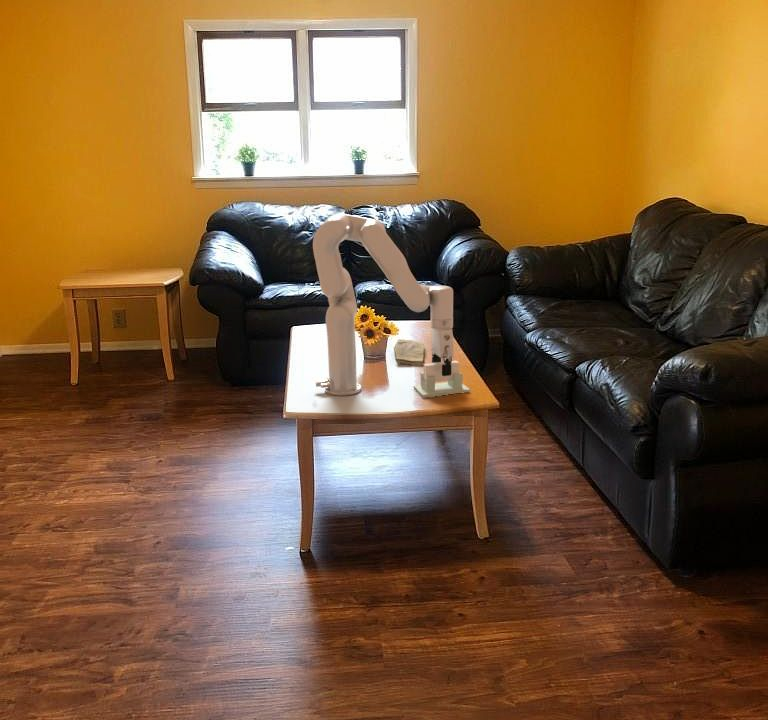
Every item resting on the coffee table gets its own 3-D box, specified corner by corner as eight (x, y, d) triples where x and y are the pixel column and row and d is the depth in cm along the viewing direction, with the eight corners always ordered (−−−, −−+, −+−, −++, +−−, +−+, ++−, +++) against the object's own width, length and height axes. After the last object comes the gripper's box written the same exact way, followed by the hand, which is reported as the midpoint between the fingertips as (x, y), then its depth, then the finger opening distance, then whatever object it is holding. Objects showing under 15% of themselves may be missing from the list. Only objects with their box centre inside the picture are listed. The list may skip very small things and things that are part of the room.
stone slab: (423, 338, 319) (425, 356, 290) (423, 348, 320) (425, 366, 291) (394, 338, 319) (393, 355, 290) (394, 347, 320) (393, 366, 291)
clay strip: (456, 376, 264) (456, 360, 262) (458, 379, 262) (459, 362, 260) (423, 380, 261) (423, 363, 259) (426, 382, 258) (426, 365, 257)
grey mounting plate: (422, 398, 255) (422, 380, 254) (413, 389, 265) (413, 371, 263) (469, 392, 260) (470, 374, 258) (458, 383, 269) (459, 366, 267)
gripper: (461, 327, 248) (461, 377, 253) (443, 316, 264) (442, 363, 269) (440, 329, 246) (440, 380, 251) (422, 318, 262) (422, 365, 267)
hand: (441, 371), depth 260 cm, fingers open, 9 cm apart
